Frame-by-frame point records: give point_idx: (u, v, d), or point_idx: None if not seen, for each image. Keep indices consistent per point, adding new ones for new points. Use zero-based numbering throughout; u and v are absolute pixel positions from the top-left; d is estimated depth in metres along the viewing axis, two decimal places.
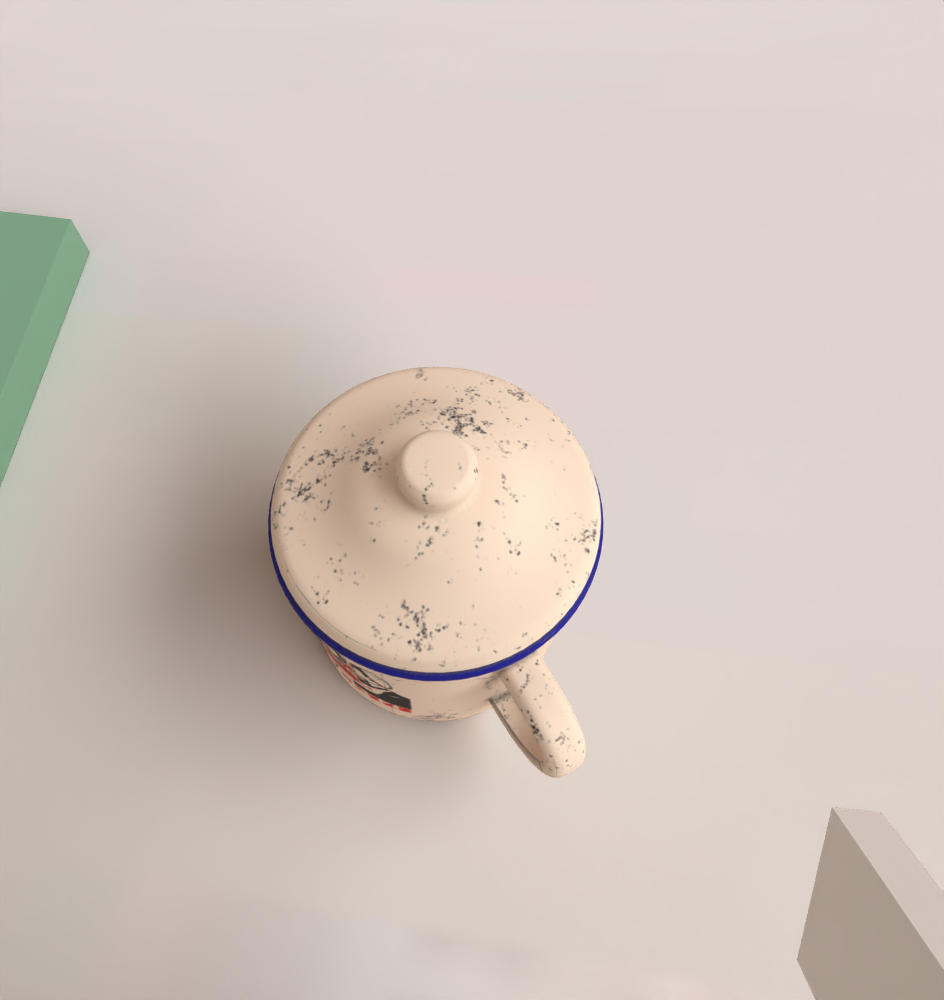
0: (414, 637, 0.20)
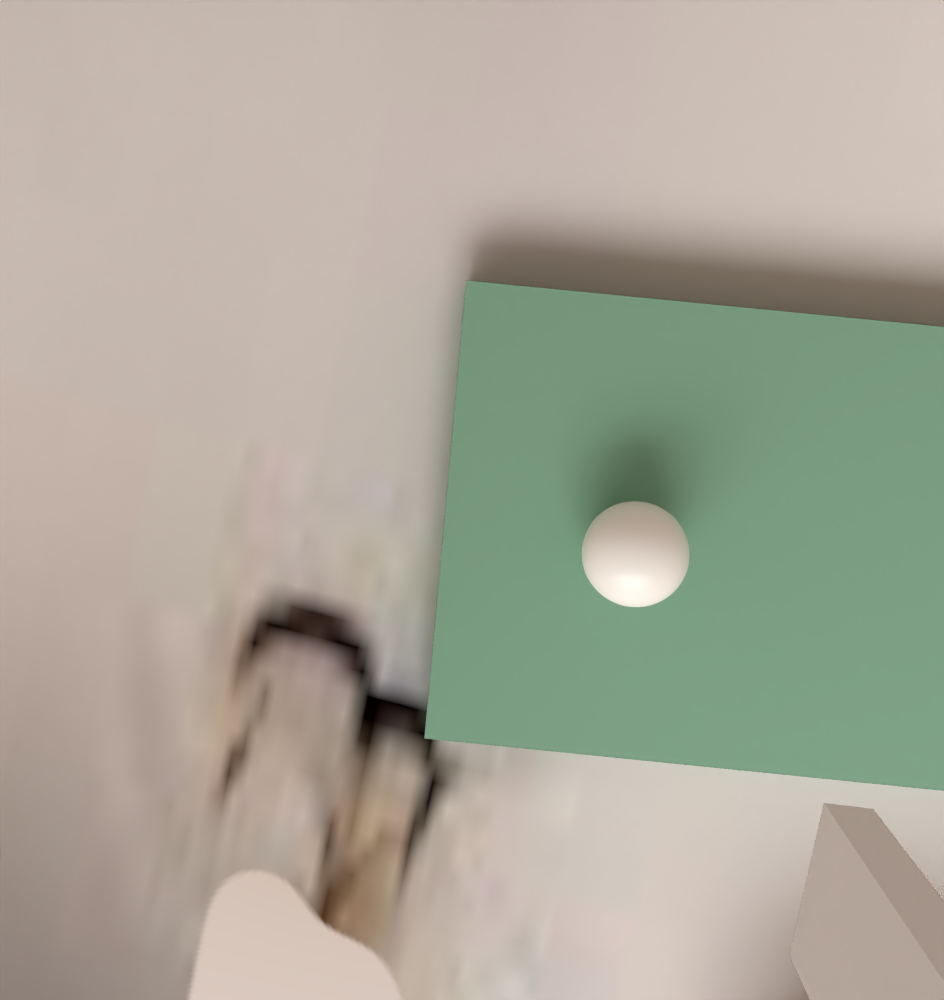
0: None
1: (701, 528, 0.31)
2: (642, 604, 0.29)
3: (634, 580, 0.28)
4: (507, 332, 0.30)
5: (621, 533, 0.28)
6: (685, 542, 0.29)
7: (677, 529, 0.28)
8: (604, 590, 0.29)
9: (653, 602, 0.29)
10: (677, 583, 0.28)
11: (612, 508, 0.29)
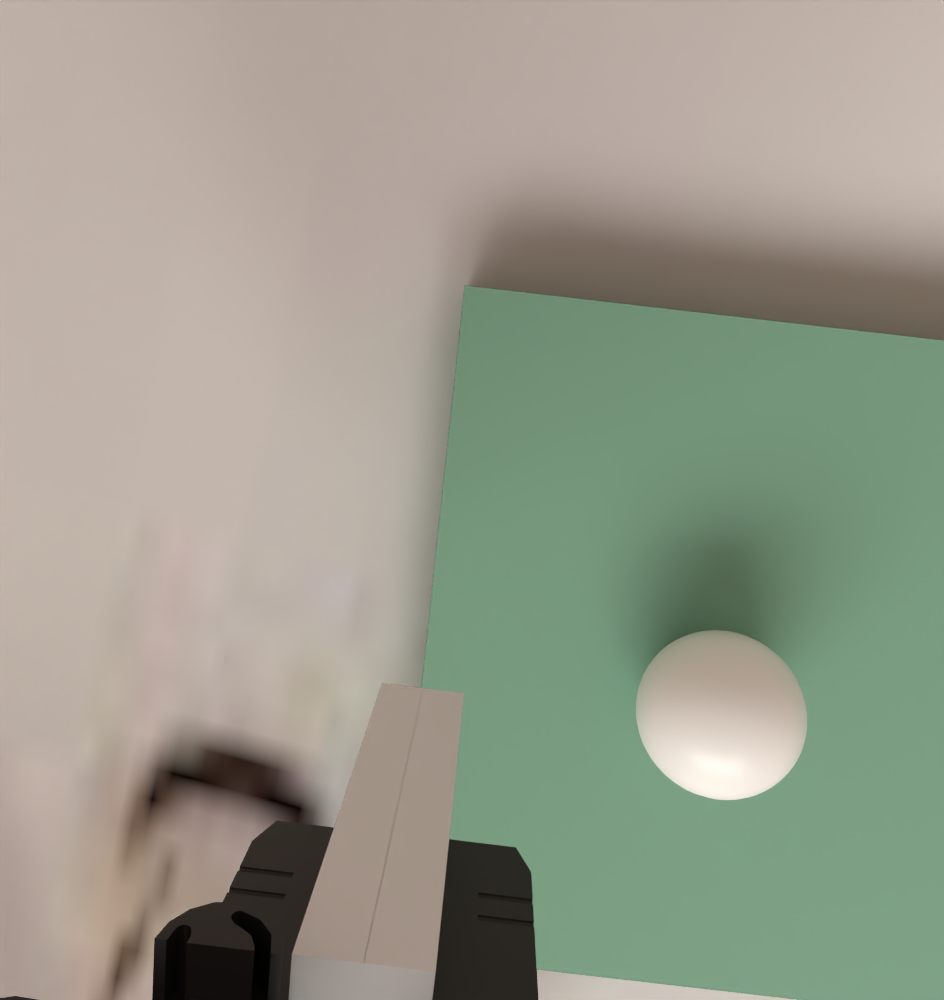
0: None
1: (811, 664, 0.21)
2: (733, 799, 0.18)
3: (726, 770, 0.17)
4: (526, 366, 0.19)
5: (706, 693, 0.18)
6: (803, 704, 0.18)
7: (791, 684, 0.18)
8: (674, 776, 0.18)
9: (751, 796, 0.18)
10: (790, 769, 0.18)
11: (687, 644, 0.19)
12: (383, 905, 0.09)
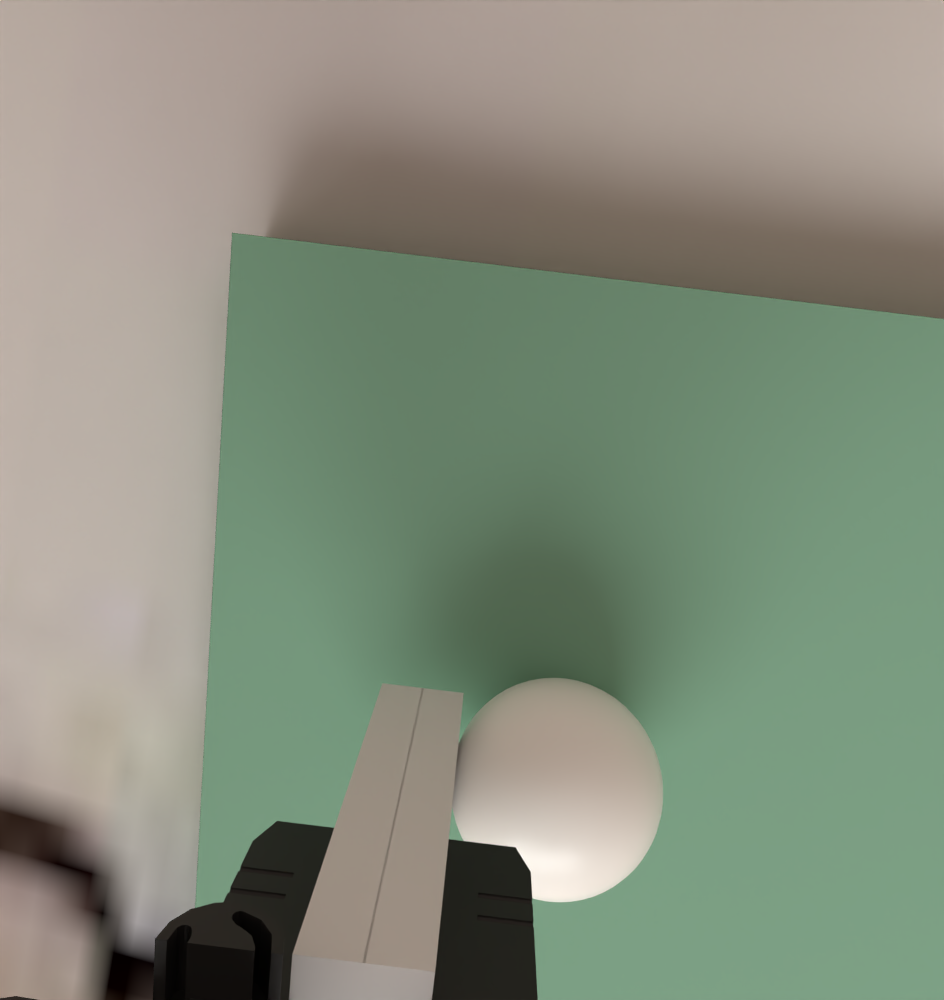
0: None
1: (688, 717, 0.17)
2: None
3: (543, 870, 0.13)
4: (316, 338, 0.15)
5: (519, 768, 0.13)
6: (654, 779, 0.14)
7: (637, 754, 0.14)
8: None
9: (586, 898, 0.14)
10: (635, 865, 0.14)
11: (510, 698, 0.14)
12: (383, 905, 0.09)
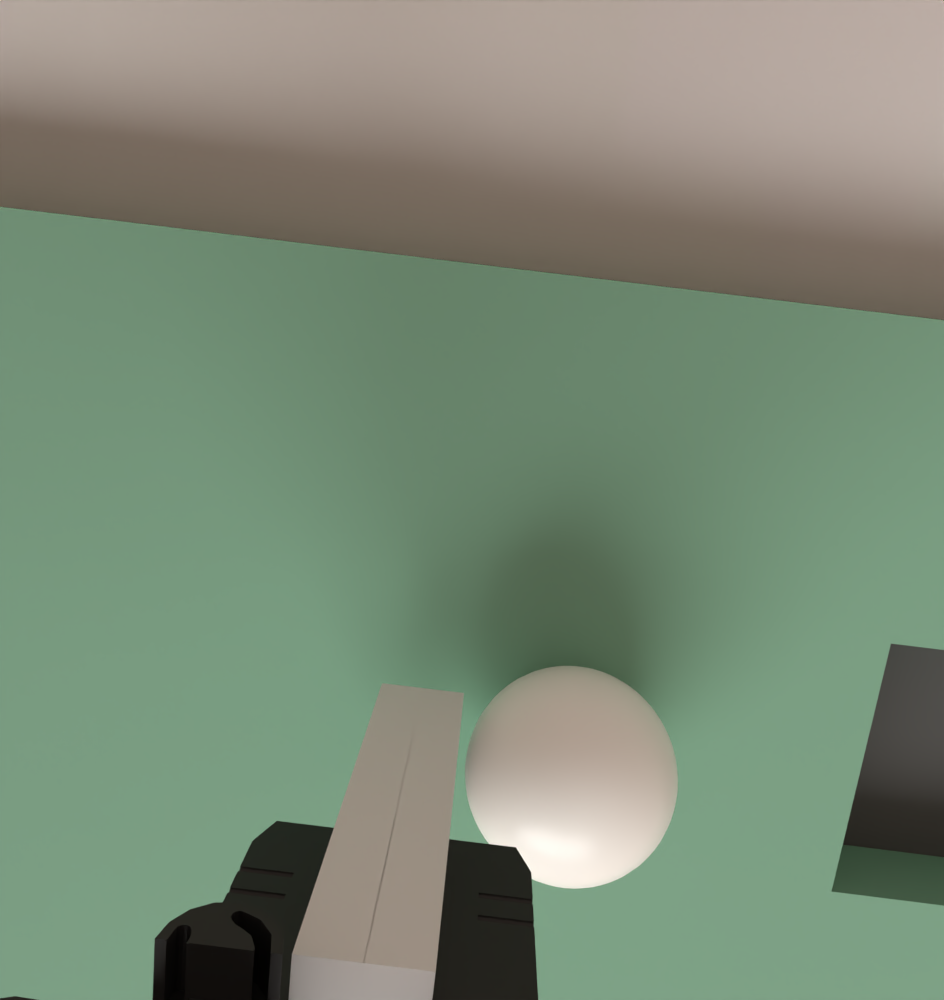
0: None
1: (158, 651, 0.17)
2: (541, 882, 0.14)
3: (505, 834, 0.14)
4: None
5: (503, 730, 0.14)
6: (643, 786, 0.13)
7: (625, 753, 0.13)
8: (479, 828, 0.15)
9: (562, 886, 0.14)
10: (609, 867, 0.13)
11: (533, 673, 0.15)
12: (383, 905, 0.09)
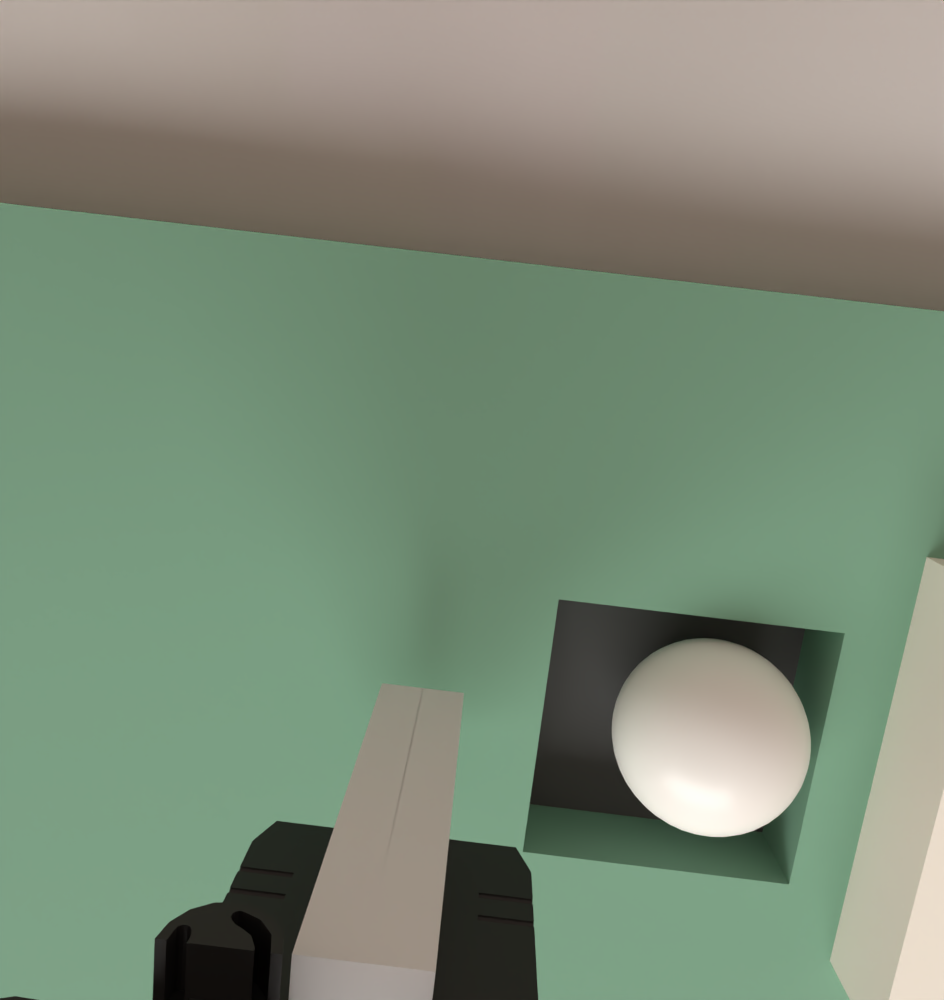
0: None
1: None
2: None
3: (612, 739, 0.17)
4: None
5: (641, 662, 0.17)
6: (703, 737, 0.15)
7: (698, 704, 0.15)
8: None
9: (649, 810, 0.16)
10: (665, 797, 0.15)
11: None
12: (383, 905, 0.09)
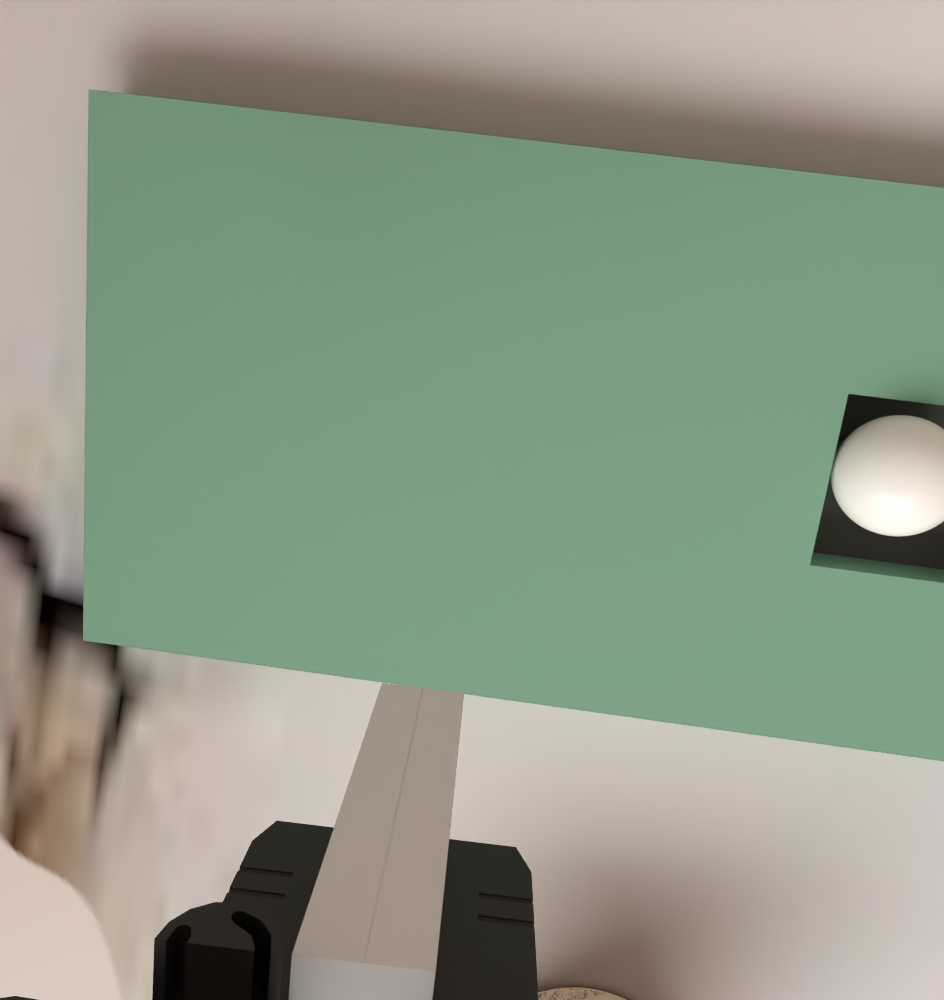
0: None
1: (380, 401, 0.26)
2: (845, 513, 0.27)
3: None
4: (141, 154, 0.25)
5: None
6: (863, 449, 0.25)
7: (868, 433, 0.25)
8: None
9: (844, 512, 0.26)
10: (842, 490, 0.26)
11: None
12: (383, 905, 0.09)
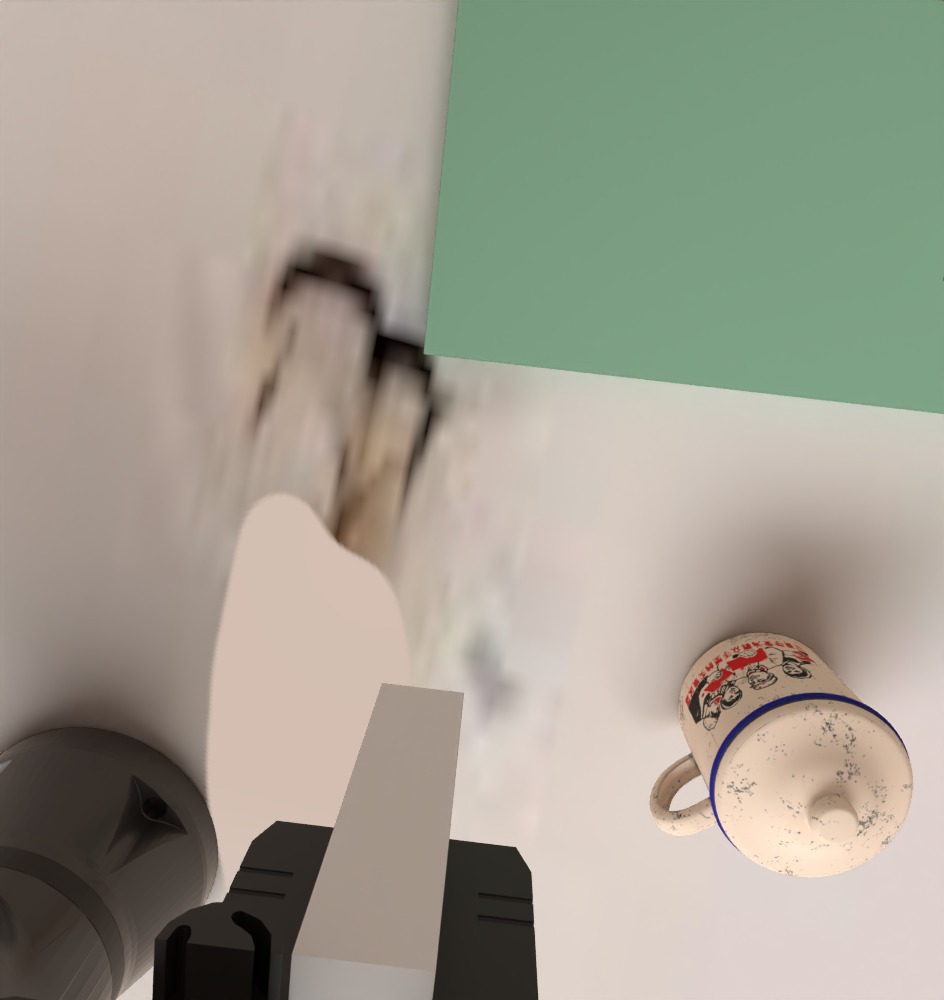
0: (735, 785, 0.37)
1: (651, 167, 0.38)
2: None
3: None
4: None
5: None
6: None
7: None
8: None
9: None
10: None
11: None
12: (383, 905, 0.09)
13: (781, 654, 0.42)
